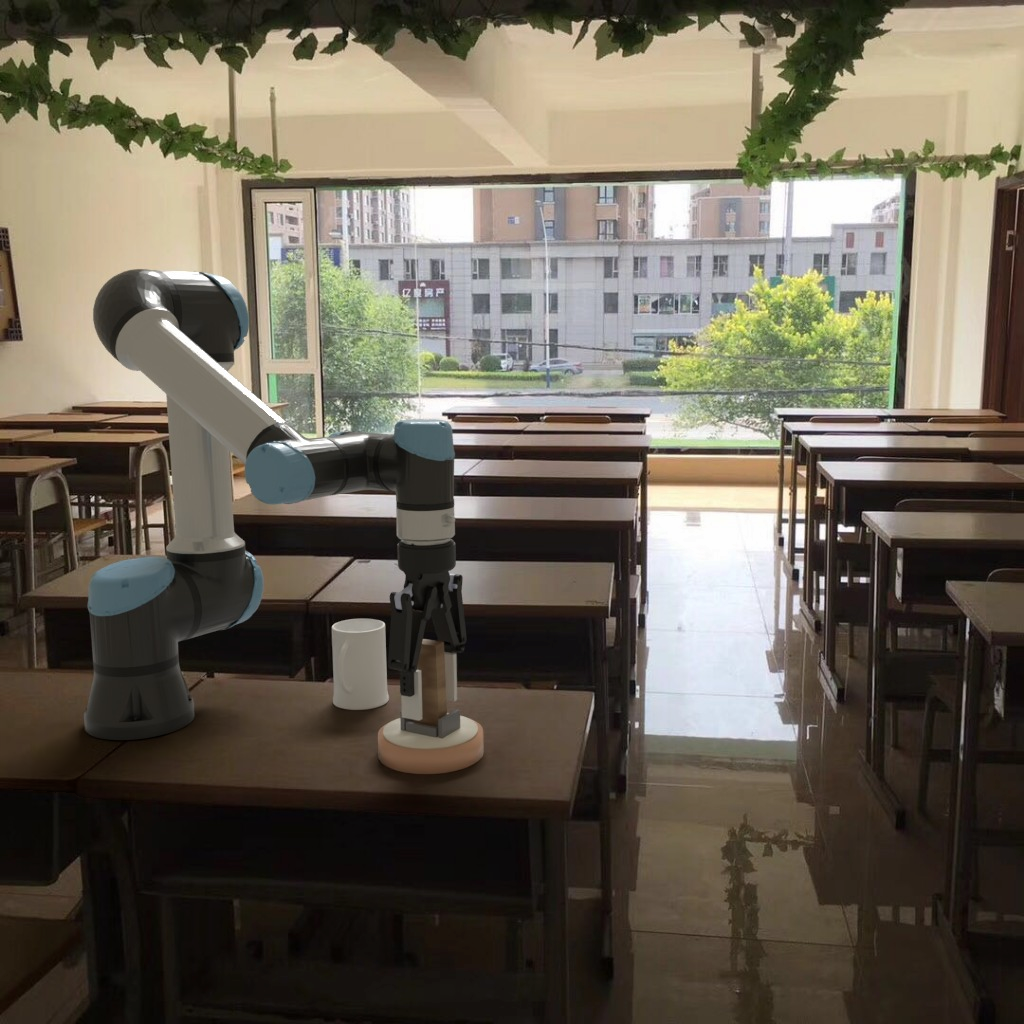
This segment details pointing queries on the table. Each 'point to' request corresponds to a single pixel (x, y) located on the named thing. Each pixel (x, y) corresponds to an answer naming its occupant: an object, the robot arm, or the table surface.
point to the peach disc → (431, 744)
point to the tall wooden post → (432, 682)
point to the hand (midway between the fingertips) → (430, 708)
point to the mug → (359, 664)
